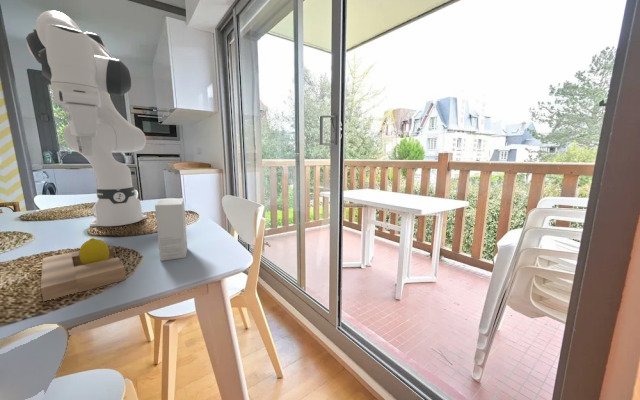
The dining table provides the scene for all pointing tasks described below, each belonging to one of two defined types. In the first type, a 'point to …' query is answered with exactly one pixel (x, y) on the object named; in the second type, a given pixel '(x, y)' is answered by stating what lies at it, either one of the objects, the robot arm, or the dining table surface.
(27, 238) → the dining table surface
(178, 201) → the skincare box
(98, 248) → the lemon
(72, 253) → the notched board
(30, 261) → the dining table surface
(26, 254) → the dining table surface
